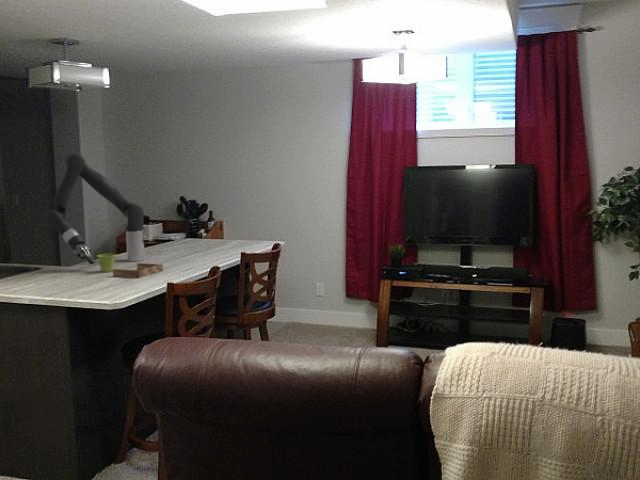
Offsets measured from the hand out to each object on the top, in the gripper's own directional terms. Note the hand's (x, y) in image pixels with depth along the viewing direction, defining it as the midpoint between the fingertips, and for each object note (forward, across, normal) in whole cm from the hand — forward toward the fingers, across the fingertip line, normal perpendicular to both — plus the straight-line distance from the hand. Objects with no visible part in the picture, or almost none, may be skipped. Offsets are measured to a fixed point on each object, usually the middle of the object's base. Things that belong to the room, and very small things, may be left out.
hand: (93, 263), depth 323 cm
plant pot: (+9, 0, -3) cm, 10 cm away
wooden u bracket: (+22, 0, -17) cm, 28 cm away
